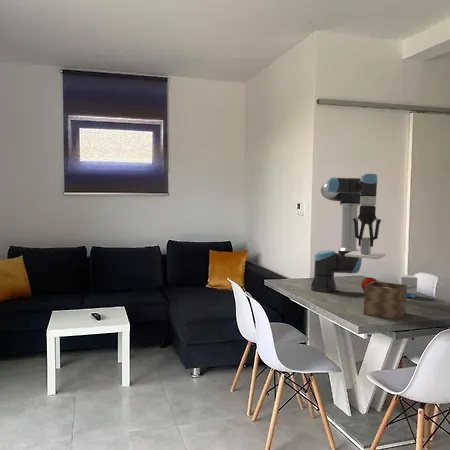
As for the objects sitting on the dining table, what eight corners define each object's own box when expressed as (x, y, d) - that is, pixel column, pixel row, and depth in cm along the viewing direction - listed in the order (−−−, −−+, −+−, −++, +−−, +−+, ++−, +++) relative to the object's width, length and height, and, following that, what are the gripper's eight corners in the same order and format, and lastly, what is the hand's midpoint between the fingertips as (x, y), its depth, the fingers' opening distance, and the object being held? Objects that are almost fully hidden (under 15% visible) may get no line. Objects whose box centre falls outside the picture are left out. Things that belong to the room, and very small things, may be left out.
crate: (363, 314, 221) (364, 285, 220) (371, 307, 234) (373, 281, 234) (399, 319, 212) (400, 289, 212) (405, 312, 226) (407, 284, 225)
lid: (344, 256, 228) (345, 237, 228) (353, 252, 242) (354, 235, 241) (378, 259, 220) (379, 240, 220) (385, 255, 234) (386, 237, 234)
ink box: (416, 298, 262) (417, 277, 262) (400, 297, 264) (401, 276, 263) (413, 295, 271) (414, 275, 270) (398, 294, 272) (399, 274, 272)
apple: (358, 295, 264) (359, 276, 264) (365, 293, 271) (366, 275, 270) (372, 298, 259) (373, 278, 258) (379, 296, 265) (380, 277, 264)
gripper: (349, 204, 230) (347, 252, 232) (383, 206, 222) (380, 255, 224) (353, 204, 237) (351, 250, 238) (386, 205, 229) (383, 253, 230)
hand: (365, 252), depth 231 cm, fingers closed on lid, 3 cm apart
